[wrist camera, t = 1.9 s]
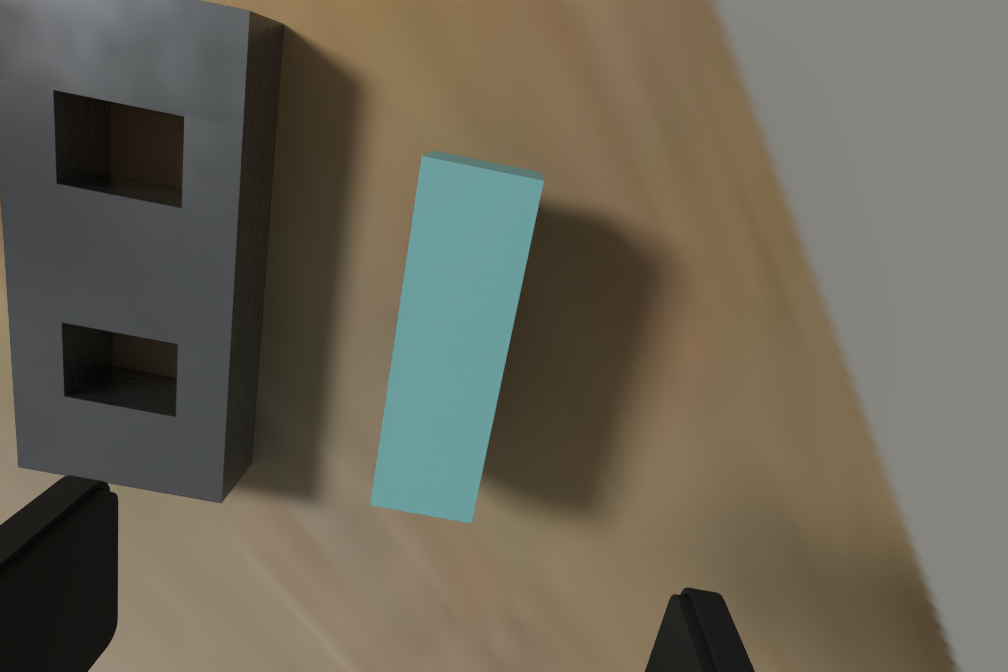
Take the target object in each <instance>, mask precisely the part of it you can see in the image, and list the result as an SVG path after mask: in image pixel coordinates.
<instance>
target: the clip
mask: <svg viewBox="0 0 1008 672" xmlns="http://www.w3.org/2000/svg"><path fill="white" fill-rule="evenodd" d="M543 183H544V179H543V177H542V174H541V172H536V171H531V170H526V169H521V168H516V167H511V166H506V165H502V164H497V163H492V162H487V161H482V160H477V159H472V158H467V157H462V156H457V155H453V154H448V153H443V152H438V151H432V152H430V153H428V154H425V155H423V156H422V158H421V165H420V172H419V179H418V185H417V192H416V199H415V206H414V212H413V219H412V226H411V233H410V240H409V246H408V253H407V260H406V267H405V273H404V280H403V287H402V294H401V300H400V307H399V314H398V321H397V327H396V334H395V341H394V348H393V355H392V361H391V368H390V375H389V382H388V388H387V395H386V402H385V409H384V415H383V422H382V429H381V436H380V443H379V449H378V456H377V463H376V470H375V476H374V483H373V490H372V497H371V503H370V505H372V506H378V507H384V508H389V509H395V510H400V511H406V512H411V513H417V514H422V515H428V516H433V517H439V518H445V519H450V520H456V521H461V522H467V523H472V518H473V514H474V509H475V504H476V500H477V495H478V490H479V485H480V481H481V476H482V471H483V466H484V462H485V457H486V452H487V448H488V443H489V438H490V433H491V429H492V424H493V419H494V415H495V410H496V405H497V400H498V396H499V391H500V386H501V381H502V377H503V372H504V367H505V363H506V358H507V353H508V348H509V344H510V339H511V334H512V329H513V325H514V320H515V315H516V311H517V306H518V301H519V296H520V292H521V287H522V282H523V278H524V273H525V268H526V263H527V259H528V254H529V249H530V244H531V240H532V235H533V230H534V226H535V221H536V216H537V211H538V207H539V202H540V197H541V192H542V188H543Z"/></svg>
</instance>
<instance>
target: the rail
mask: <svg viewBox="0 0 1008 672" xmlns="http://www.w3.org/2000/svg"><path fill="white" fill-rule="evenodd" d="M283 27H284V24H282V23H280V22H277V21H275V20H272V19H269V18H267V17H264V16H262V15H259V14H256V13H254V12H251V11H248V10H243V9H238V8H234V7H229V6H224V5H219V4H215V3H210V2H205V1H200V0H0V191H1V207H2V222H3V238H4V253H5V269H6V284H7V299H8V315H9V330H10V346H11V361H12V377H13V392H14V408H15V423H16V438H17V454H18V467H20V468H26V469H32V470H37V471H43V472H48V473H54V474H60V475H65V476H69V475H72V476H78V477H83V478H89V479H94V480H100V481H104V482H106V483H110V484H116V485H122V486H127V487H133V488H138V489H144V490H150V491H155V492H161V493H167V494H172V495H178V496H183V497H189V498H195V499H200V500H206V501H212V502H217V503H222V502H223V501H224V499H225V498H226V497H227V495H228V494H229V493H230V492H231V490H232V489H233V488H234V486H235V485H236V484H237V482H238V481H239V480H240V478H241V477H242V476H243V475H244V473H245V472H246V471H247V469H248V468H249V467H250V465H251V462H252V448H253V434H254V421H255V407H256V394H257V380H258V366H259V353H260V339H261V326H262V312H263V298H264V285H265V271H266V258H267V244H268V231H269V217H270V203H271V190H272V176H273V163H274V149H275V135H276V122H277V108H278V95H279V81H280V68H281V54H282V40H283ZM110 102H115V103H120V104H125V105H130V106H135V107H140V108H145V109H150V110H155V111H160V112H165V113H169V114H174V115H179V116H184V147H183V183H182V190H181V189H176V188H170V187H165V186H160V185H155V184H150V183H145V182H140V181H135V180H130V179H125V178H120V177H115V176H111V171H110ZM112 332H116V333H121V334H126V335H132V336H137V337H142V338H148V339H153V340H158V341H164V342H169V343H174V344H178V361H177V379H175V378H170V377H164V376H159V375H153V374H148V373H143V372H137V371H132V370H127V369H121V368H116V367H112Z"/></svg>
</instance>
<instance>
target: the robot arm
mask: <svg viewBox="0 0 1008 672" xmlns="http://www.w3.org/2000/svg"><path fill="white" fill-rule="evenodd" d="M117 620H118V497H117V495H116V493H114V492H110V487H109V485H108V484H107V483H106V482H104V481H100V480H94V479H89V478H83V477H78V476H72V475H69V476H65V477H63V478H62V479H60V480H59V481H57V482H56V483H55V484H53V485H52V486H51V487H50V488H48V489H47V490H46V491H44V492H43V493H42V494H40V495H39V496H38V497H37V498H35V499H34V500H33V501H31V502H30V503H29V504H27V505H26V506H25V507H23V508H22V509H21V510H20V511H18V512H17V513H16V514H14V515H13V516H12V517H10V518H9V519H8V520H6V521H5V522H4V523H3V524H1V525H0V672H88V670H89V669H90V668H91V667H92V665H93V664H94V663H95V662H96V660H97V659H98V658H99V657H100V655H101V654H102V653H103V652H104V650H105V649H106V648H107V646H108V645H109V643H110V642H111V640H112V638H113V636H114V633H115V631H116V627H117ZM645 672H755V671H754V669H753V666H752V664H751V662H750V659H749V657H748V655H747V652H746V650H745V648H744V645H743V643H742V641H741V638H740V636H739V634H738V631H737V629H736V627H735V624H734V622H733V620H732V617H731V615H730V613H729V610H728V608H727V606H726V603H725V601H724V599H723V597H722V596H721V595H720V594H719V593H715V592H710V591H704V590H699V589H693V588H684V590H683V591H682V592H681V595H676V594H674V595H672V596H671V598H670V600H669V603H668V605H667V608H666V611H665V614H664V617H663V620H662V623H661V626H660V629H659V632H658V635H657V638H656V641H655V644H654V647H653V649H652V652H651V655H650V658H649V661H648V664H647V667H646V670H645Z"/></svg>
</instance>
